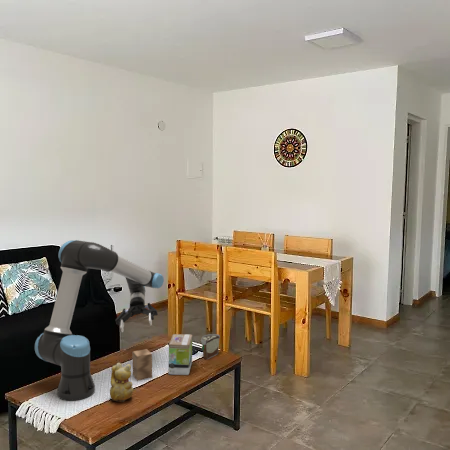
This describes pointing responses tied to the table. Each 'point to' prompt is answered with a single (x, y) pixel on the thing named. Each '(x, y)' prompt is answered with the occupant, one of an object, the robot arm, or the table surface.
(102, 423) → the table surface
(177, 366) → the tea box
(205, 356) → the food container
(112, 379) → the decorative figurine
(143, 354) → the walnut block
